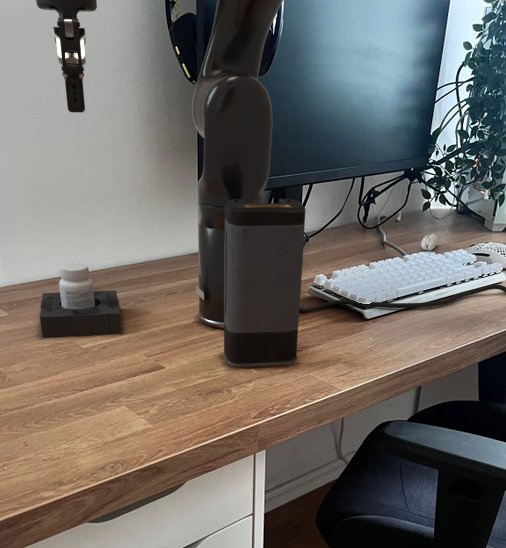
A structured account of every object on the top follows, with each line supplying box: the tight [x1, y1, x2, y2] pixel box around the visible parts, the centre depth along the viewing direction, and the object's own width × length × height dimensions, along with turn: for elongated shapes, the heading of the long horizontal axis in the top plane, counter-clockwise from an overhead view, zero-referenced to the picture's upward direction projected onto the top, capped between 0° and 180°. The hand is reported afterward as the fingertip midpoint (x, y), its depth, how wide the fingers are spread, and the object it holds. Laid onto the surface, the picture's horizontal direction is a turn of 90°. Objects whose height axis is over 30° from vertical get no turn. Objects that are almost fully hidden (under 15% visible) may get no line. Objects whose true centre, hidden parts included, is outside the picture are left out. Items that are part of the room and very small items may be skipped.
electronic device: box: [223, 198, 307, 369], centre depth 87 cm, size 9×6×20 cm, turn 100°
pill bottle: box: [58, 262, 95, 310], centre depth 100 cm, size 5×5×8 cm
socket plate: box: [39, 289, 123, 338], centre depth 102 cm, size 11×11×3 cm
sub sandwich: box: [420, 233, 439, 251], centre depth 147 cm, size 3×8×3 cm, turn 157°
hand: (76, 109), depth 94 cm, fingers open, 8 cm apart
